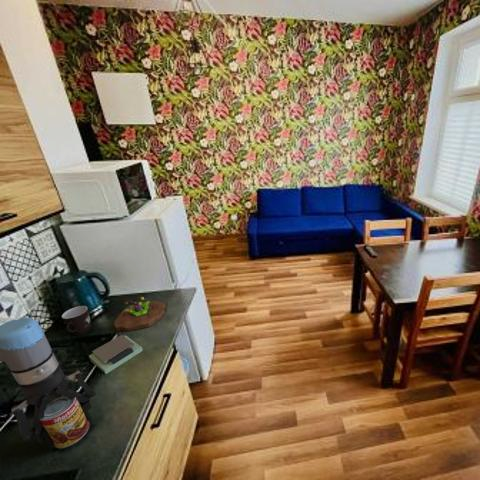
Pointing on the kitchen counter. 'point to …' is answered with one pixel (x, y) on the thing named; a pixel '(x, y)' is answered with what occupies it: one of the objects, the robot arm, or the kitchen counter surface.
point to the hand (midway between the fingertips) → (70, 430)
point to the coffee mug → (77, 320)
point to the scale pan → (112, 348)
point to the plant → (139, 315)
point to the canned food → (65, 421)
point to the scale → (116, 358)
